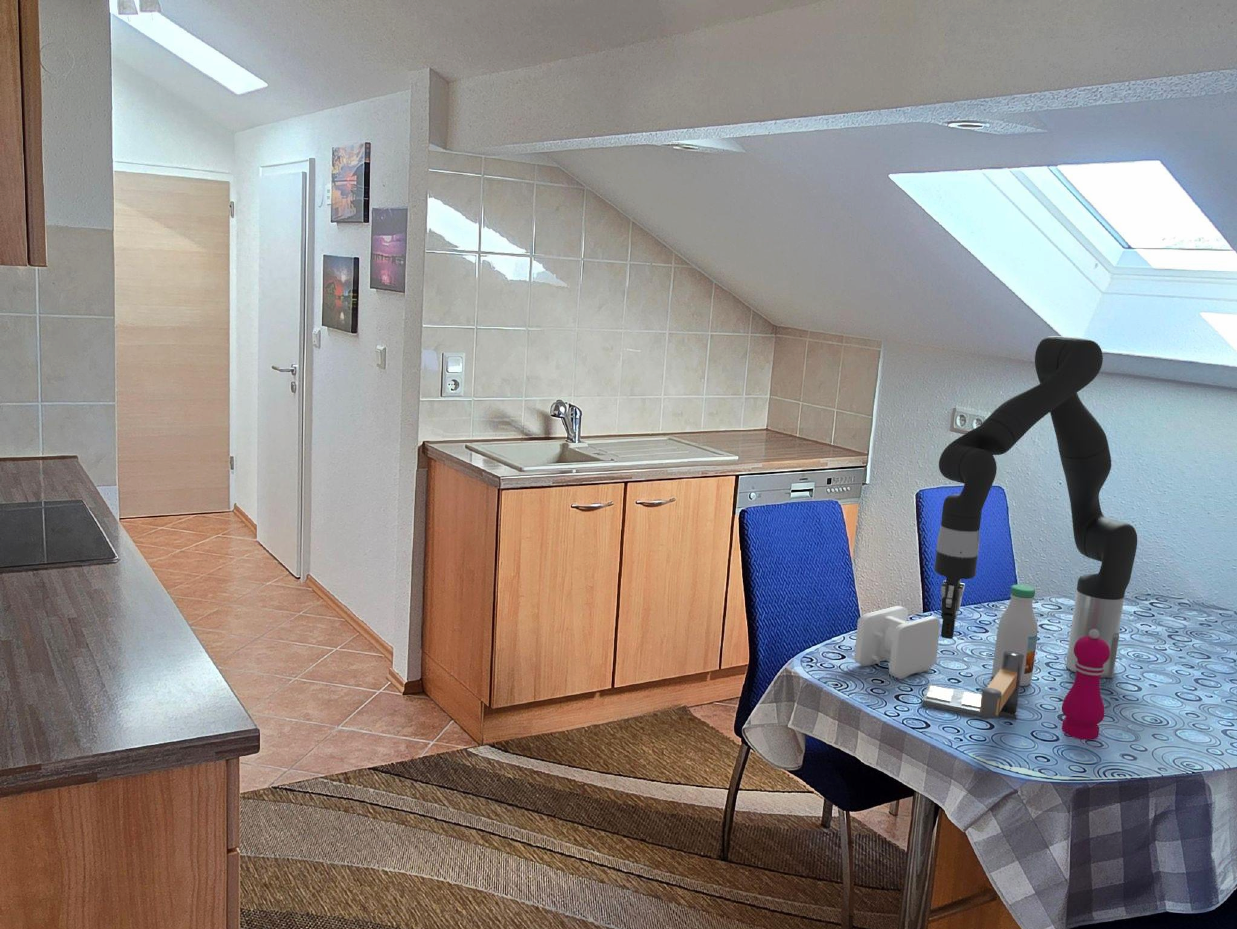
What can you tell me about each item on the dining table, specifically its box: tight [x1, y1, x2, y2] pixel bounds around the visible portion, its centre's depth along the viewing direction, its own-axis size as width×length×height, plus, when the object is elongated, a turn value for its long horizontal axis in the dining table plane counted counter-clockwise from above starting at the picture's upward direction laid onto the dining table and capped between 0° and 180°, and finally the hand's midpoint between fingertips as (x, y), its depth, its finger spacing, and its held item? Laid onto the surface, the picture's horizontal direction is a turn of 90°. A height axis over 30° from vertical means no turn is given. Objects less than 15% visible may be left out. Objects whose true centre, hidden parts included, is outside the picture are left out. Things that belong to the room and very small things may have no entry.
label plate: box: [921, 683, 989, 720], centre depth 203 cm, size 12×9×2 cm
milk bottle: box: [991, 584, 1039, 687], centre depth 215 cm, size 8×8×20 cm
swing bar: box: [980, 669, 1017, 720], centre depth 189 cm, size 16×3×4 cm, turn 148°
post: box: [999, 651, 1024, 721], centre depth 199 cm, size 4×4×12 cm
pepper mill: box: [1061, 629, 1110, 741], centre depth 191 cm, size 7×7×20 cm
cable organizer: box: [853, 605, 941, 680], centre depth 219 cm, size 15×11×12 cm
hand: (947, 636), depth 202 cm, fingers closed
